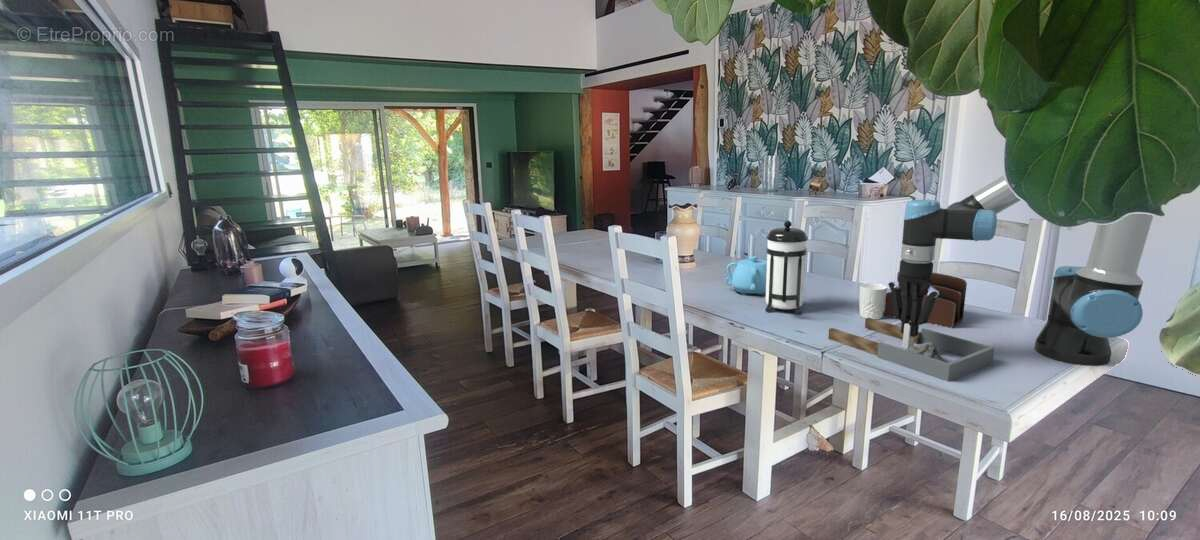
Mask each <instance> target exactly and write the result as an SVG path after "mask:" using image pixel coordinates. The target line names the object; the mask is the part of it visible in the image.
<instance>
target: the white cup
mask: <svg viewBox="0 0 1200 540" xmlns="http://www.w3.org/2000/svg"><path fill="white" fill-rule="evenodd" d="M887 293H888V286H887V285H884V284H881V283H874V282H867V283H866V282H865V283H861V284H859V293H858V294H859V295H858V297H859V299H858V303H859V306H858V307H859V317H861V318H863V319H866V318H872V319H875V320H881V319H882V318H884V317H883V316H884V309H885V301H886V294H887Z"/></svg>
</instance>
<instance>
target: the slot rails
mask: <svg viewBox="0 0 1200 540" xmlns="http://www.w3.org/2000/svg"><path fill="white" fill-rule="evenodd" d="M866 328H867V329H868V330H869V331H873V330H874V332H876V331H877V333H880V334H883V333H884V335H887V336H890V337H894V338H897V339H900V340H903V334H902V333H901V325H896V324H892V323H889V322H886V321H882V320H880V319H872V318H865V323H864V329H866ZM920 338H921V331H918V335H917V336H915V337H914V344H915V345H918V344H921V343H920ZM830 339H831V341H833V340H834V341H833V342H836V341H837V343H839V342H840V344H842V343H843V344H842V345H845V344H846V345H845V346H848V345H849V347H851V346H852V348H854V347H855V348H854V349H857V350H859V351H863V352H866V353H868V354H872V355H875V356H877V355H878V344H879V342H878V341H875V340H871V339H869V338H865V337H862V336H860V335H855V334H853V333H850V332H846V331H844V330H840V329H837V328H834V327H831V328H829V329H828V340H830Z"/></svg>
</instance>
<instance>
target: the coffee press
mask: <svg viewBox="0 0 1200 540" xmlns="http://www.w3.org/2000/svg"><path fill="white" fill-rule="evenodd" d="M791 226H792V222H791V221H790V220H786V221H784V222H783V227H778V228H773V229H772V230H770V231H769V232H768V235H766V240H767V247H766V261H767V273H766V293H765V303H766V304H767V306H766V307H765V312H767V313H768V314H769V313H772V311H773V310H774V309H778V310H792V311H794V313H795V315H796V316H797V315H801V314H802V313H803V312H802V311H803V310H802V308H801V307H802V306H803V304H804V303H803V302H804V289H805V287H804V286H805V285H804V284H805V273H806V272H805V270H806V255H807V242H808V241H809V240H808V239H809V237H808V236H807V234H806V232H805V231H804V230H803V229H799V228H796V227H795V228H794V227H791Z"/></svg>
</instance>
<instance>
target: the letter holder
mask: <svg viewBox="0 0 1200 540" xmlns="http://www.w3.org/2000/svg"><path fill="white" fill-rule="evenodd" d="M899 276H900V273H899V271H898V272H897V276H896V277H897V278H896V281H897V280H898V277H899ZM931 282H932V287H933V288H935V289H936V290H940V291H941V294H940V295H939V296H938V297H937V299H936V301H935V303H934V306H933V308H932V311H931V314H930V316H929V319H928V321H927V323H926V324H929V323H931V324H930V325H934V324H937V325H936V326H939V325H941V326H940V327H945V326H947V327H946V328H950V327H952V328H951V329H954V328H955V327H956V326H958V325H959V324H960V323H962V322H963V319H964V312H965V303H966V293H967V285H968V283H967V281H966V279H964V278H961V277H957V276H953V275H948V274H944V273H938V272H932V277H931ZM900 288H901V287H900ZM901 293H902V294H903V290H902V288H901ZM927 294H928V291H927V292H926V293H925V294H924V298H923V301H922V308H923V306H924V303H925V300H926V298H927V297H928V295H927ZM902 301H903V297H902ZM921 311H922V310H921ZM888 315H889V317H893V316H895V314H894V307H893V299H892V292H891V291H887V293H886V301H885V306H884V310H883V316H888Z"/></svg>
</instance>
